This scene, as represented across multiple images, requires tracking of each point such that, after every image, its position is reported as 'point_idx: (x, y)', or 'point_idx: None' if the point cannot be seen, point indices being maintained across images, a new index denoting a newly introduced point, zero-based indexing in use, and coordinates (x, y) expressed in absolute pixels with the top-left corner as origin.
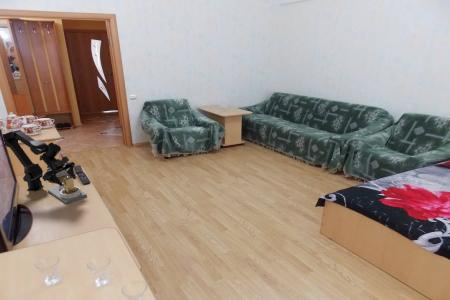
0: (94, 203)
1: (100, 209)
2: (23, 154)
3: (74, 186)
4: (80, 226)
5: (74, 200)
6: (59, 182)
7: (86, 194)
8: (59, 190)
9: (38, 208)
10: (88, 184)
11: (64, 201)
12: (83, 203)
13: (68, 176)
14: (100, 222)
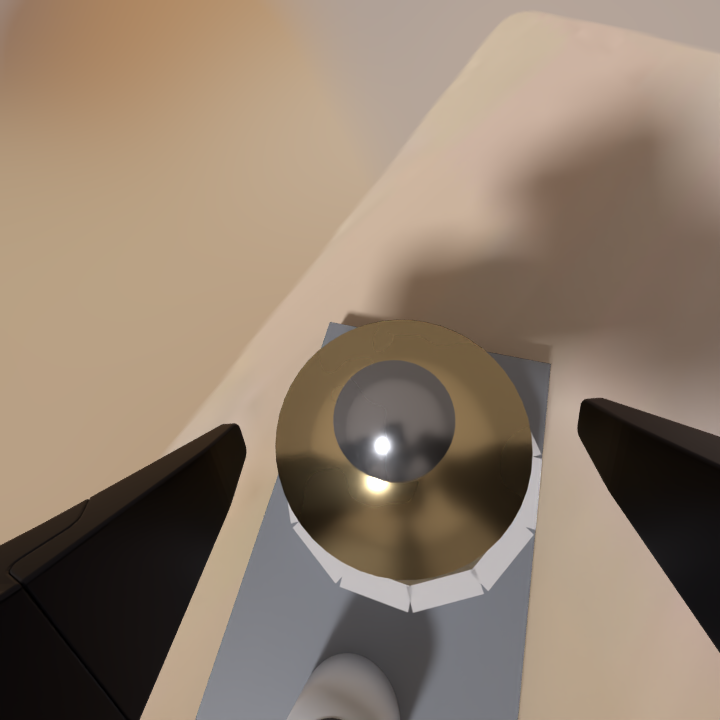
0: (401, 201)
1: (442, 122)
2: None
3: (289, 508)
4: (652, 68)
5: None
6: (695, 437)
7: (331, 325)
8: None
9: None
10: None
11: (544, 395)
12: (443, 261)
13: (384, 388)
14: (545, 35)
